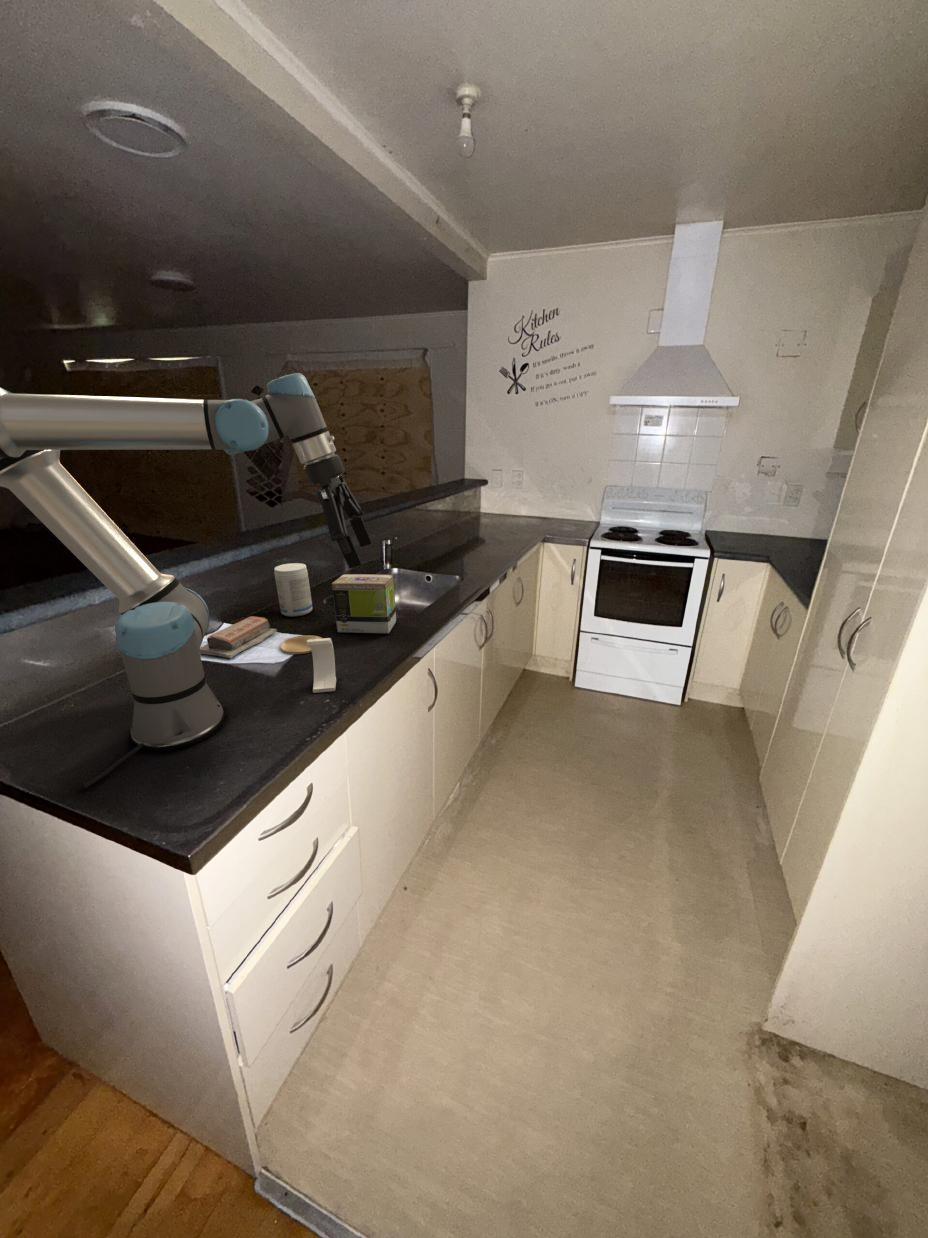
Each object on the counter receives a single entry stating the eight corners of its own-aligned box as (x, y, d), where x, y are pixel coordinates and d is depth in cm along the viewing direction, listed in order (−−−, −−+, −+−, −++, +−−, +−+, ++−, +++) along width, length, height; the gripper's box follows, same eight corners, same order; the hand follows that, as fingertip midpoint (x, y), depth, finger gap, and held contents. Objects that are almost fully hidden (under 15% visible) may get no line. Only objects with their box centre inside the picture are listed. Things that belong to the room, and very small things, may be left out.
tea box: (397, 621, 143) (394, 573, 138) (388, 635, 134) (385, 583, 129) (347, 620, 145) (343, 572, 140) (336, 633, 136) (330, 582, 130)
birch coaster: (309, 656, 121) (309, 654, 121) (271, 651, 124) (271, 649, 124) (332, 639, 131) (331, 637, 131) (296, 635, 134) (296, 633, 134)
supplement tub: (316, 607, 156) (311, 562, 151) (308, 617, 147) (302, 570, 142) (286, 607, 156) (279, 562, 151) (276, 617, 147) (269, 570, 142)
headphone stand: (313, 693, 104) (306, 641, 100) (316, 679, 110) (309, 631, 106) (335, 691, 105) (329, 640, 101) (336, 678, 111) (331, 629, 106)
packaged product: (245, 613, 137) (275, 616, 134) (248, 629, 139) (277, 633, 136) (194, 637, 121) (227, 641, 118) (198, 654, 123) (230, 659, 120)
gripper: (322, 463, 85) (368, 571, 95) (349, 444, 107) (384, 532, 117) (283, 477, 86) (333, 581, 96) (318, 455, 108) (355, 541, 118)
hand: (361, 555), depth 106 cm, fingers open, 13 cm apart
